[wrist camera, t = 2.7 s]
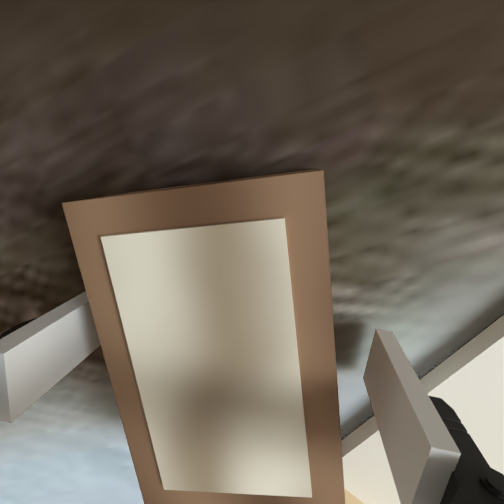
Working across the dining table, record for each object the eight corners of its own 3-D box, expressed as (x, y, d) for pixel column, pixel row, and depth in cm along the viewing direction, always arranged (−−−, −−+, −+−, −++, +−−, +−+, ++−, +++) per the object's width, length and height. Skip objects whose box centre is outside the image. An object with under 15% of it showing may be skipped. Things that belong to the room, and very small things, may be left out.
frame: (183, 421, 19) (143, 510, 14) (133, 191, 16) (57, 203, 11) (333, 423, 18) (347, 524, 13) (315, 168, 14) (323, 170, 9)
